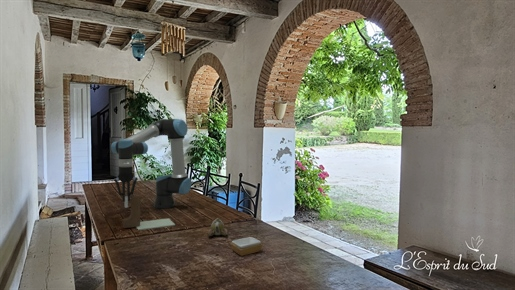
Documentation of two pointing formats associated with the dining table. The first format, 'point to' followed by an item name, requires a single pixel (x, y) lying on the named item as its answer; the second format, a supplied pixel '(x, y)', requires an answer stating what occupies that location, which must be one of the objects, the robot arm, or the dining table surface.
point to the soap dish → (246, 246)
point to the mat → (155, 224)
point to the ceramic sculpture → (217, 228)
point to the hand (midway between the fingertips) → (126, 207)
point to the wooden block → (133, 213)
